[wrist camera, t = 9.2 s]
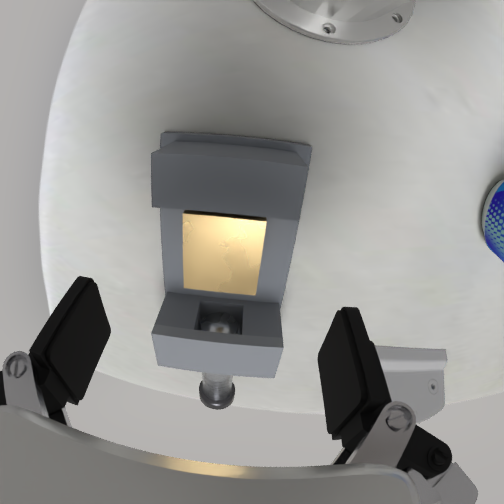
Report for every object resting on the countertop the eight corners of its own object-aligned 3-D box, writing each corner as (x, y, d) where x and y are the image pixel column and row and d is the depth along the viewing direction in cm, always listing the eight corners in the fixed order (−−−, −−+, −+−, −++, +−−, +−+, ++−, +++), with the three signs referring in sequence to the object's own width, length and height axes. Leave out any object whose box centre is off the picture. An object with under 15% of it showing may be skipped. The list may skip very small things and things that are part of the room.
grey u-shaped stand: (165, 132, 17) (130, 145, 12) (309, 144, 18) (331, 162, 13) (174, 349, 28) (163, 394, 23) (266, 358, 29) (267, 405, 24)
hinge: (447, 349, 30) (456, 416, 23) (425, 361, 33) (431, 423, 27) (352, 343, 28) (354, 432, 21) (332, 357, 31) (332, 436, 25)
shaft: (199, 306, 23) (192, 339, 20) (243, 311, 24) (242, 344, 20) (201, 379, 29) (197, 407, 26) (234, 382, 29) (233, 411, 26)
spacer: (198, 188, 18) (182, 213, 15) (264, 194, 19) (266, 221, 15) (196, 251, 21) (183, 288, 17) (255, 257, 21) (255, 295, 17)
